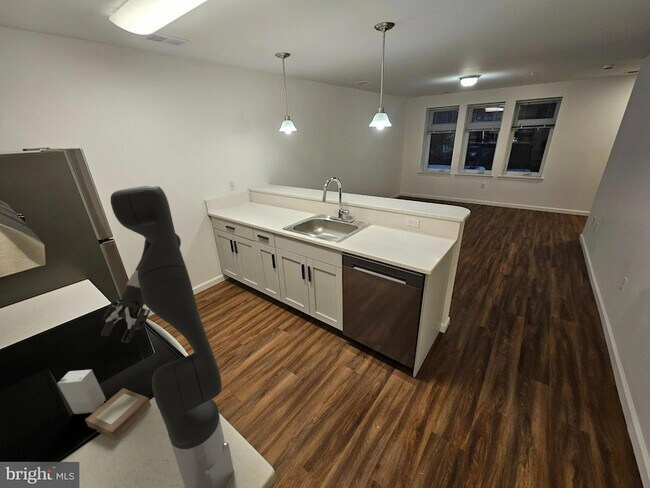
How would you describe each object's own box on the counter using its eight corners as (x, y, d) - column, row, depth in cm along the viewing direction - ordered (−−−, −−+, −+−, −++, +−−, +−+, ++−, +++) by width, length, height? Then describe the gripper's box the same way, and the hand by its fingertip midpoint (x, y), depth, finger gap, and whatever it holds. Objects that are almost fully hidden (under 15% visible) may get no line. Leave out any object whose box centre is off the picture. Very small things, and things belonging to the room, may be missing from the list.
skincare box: (106, 399, 78) (93, 367, 74) (96, 413, 74) (81, 381, 70) (84, 401, 78) (69, 369, 73) (72, 415, 74) (56, 383, 69)
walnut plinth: (150, 405, 76) (148, 397, 75) (115, 440, 68) (112, 431, 67) (125, 395, 79) (122, 387, 78) (88, 427, 71) (85, 419, 69)
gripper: (113, 280, 85) (85, 332, 79) (147, 287, 81) (120, 343, 75) (134, 286, 92) (109, 335, 86) (165, 294, 87) (142, 345, 81)
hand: (114, 339), depth 80 cm, fingers open, 8 cm apart
